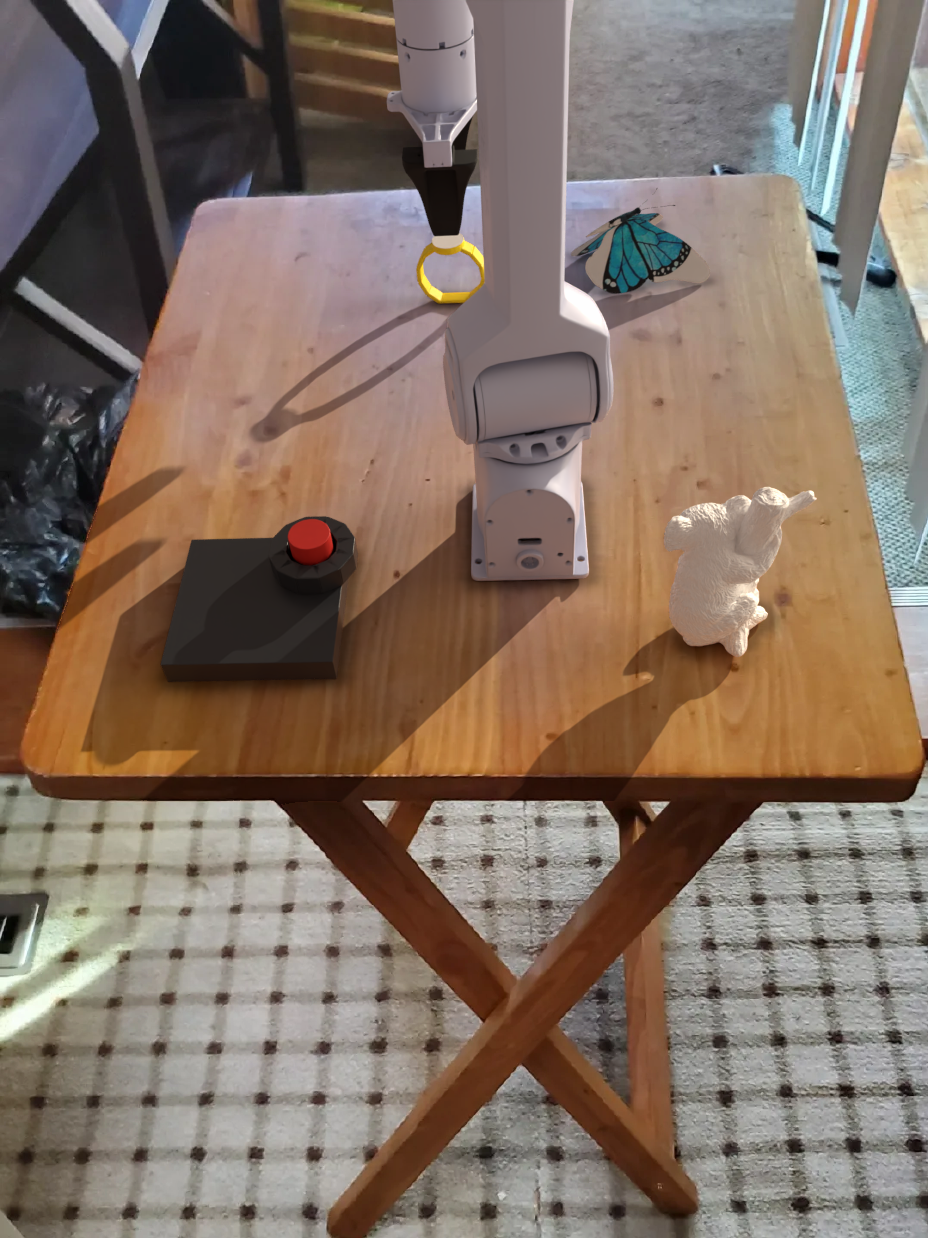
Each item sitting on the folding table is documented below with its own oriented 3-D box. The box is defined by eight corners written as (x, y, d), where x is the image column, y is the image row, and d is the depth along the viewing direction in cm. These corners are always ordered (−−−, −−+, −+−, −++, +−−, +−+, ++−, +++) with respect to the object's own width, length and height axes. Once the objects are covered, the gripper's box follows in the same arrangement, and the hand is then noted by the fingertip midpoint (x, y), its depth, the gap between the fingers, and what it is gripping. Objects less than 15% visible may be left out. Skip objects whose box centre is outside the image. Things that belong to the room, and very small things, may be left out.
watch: (489, 292, 96) (487, 231, 91) (485, 311, 94) (482, 249, 89) (423, 290, 96) (417, 229, 92) (417, 308, 95) (411, 247, 90)
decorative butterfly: (549, 212, 96) (650, 161, 96) (565, 270, 101) (661, 222, 101) (597, 270, 90) (705, 215, 90) (611, 328, 95) (713, 277, 95)
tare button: (331, 565, 71) (327, 548, 70) (289, 566, 71) (285, 549, 70) (335, 534, 73) (331, 518, 72) (294, 535, 73) (290, 519, 72)
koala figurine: (776, 590, 72) (810, 454, 62) (790, 671, 67) (830, 537, 58) (647, 590, 72) (663, 455, 63) (654, 670, 68) (672, 538, 59)
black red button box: (350, 679, 69) (342, 645, 66) (168, 682, 70) (153, 649, 67) (363, 550, 76) (357, 515, 73) (198, 554, 77) (186, 519, 74)
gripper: (386, -4, 83) (403, 166, 93) (373, 81, 74) (393, 259, 84) (478, -9, 82) (485, 162, 93) (476, 76, 73) (484, 255, 84)
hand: (447, 208), depth 88 cm, fingers open, 7 cm apart
